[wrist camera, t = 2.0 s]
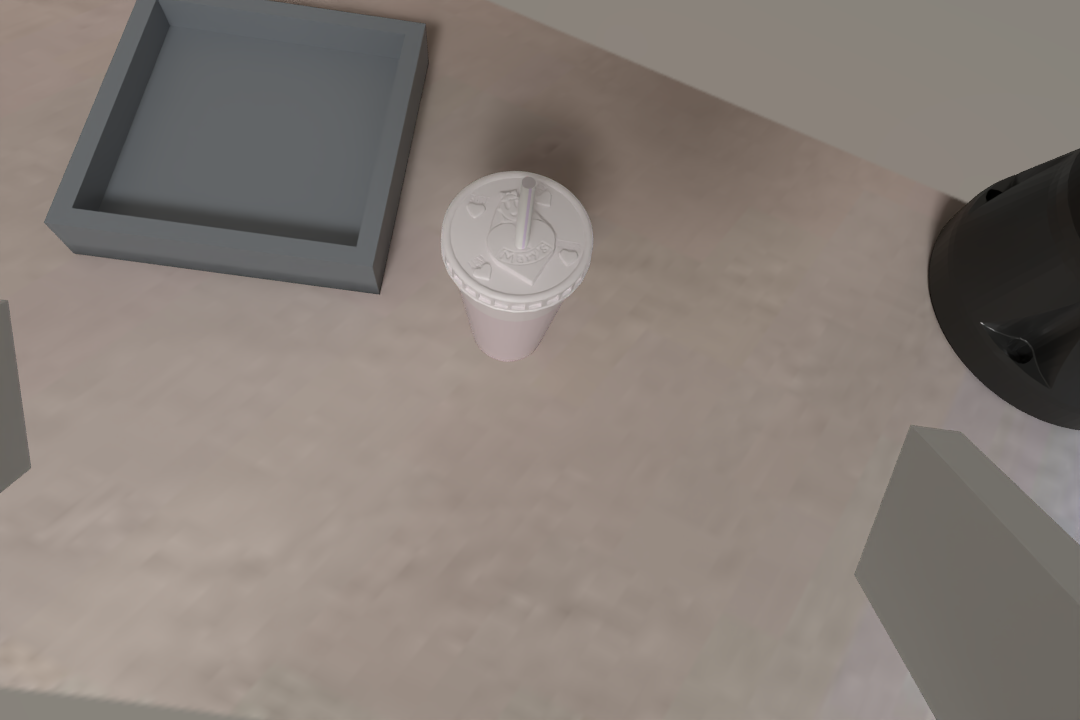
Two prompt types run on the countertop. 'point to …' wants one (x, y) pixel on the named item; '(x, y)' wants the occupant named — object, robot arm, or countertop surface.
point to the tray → (248, 142)
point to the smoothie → (515, 257)
